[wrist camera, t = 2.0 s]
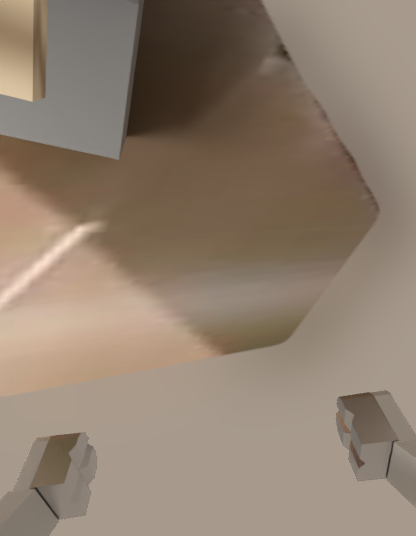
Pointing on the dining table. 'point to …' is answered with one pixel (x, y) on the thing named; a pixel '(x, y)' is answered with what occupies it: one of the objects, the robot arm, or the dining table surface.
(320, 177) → the dining table surface
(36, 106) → the stand
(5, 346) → the dining table surface
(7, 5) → the stick
